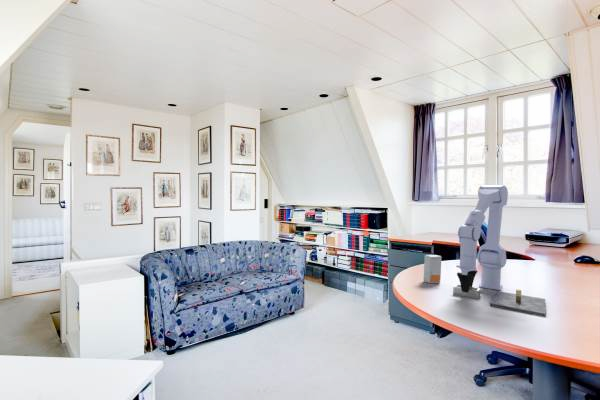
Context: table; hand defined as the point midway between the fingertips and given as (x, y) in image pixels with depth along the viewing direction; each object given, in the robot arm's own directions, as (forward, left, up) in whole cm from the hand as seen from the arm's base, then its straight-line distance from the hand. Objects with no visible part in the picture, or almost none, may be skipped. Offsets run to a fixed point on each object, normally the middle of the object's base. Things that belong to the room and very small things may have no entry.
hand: (466, 289), depth 131 cm
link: (0, 0, -2) cm, 2 cm away
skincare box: (-11, -16, -2) cm, 20 cm away
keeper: (-1, +17, -2) cm, 17 cm away
